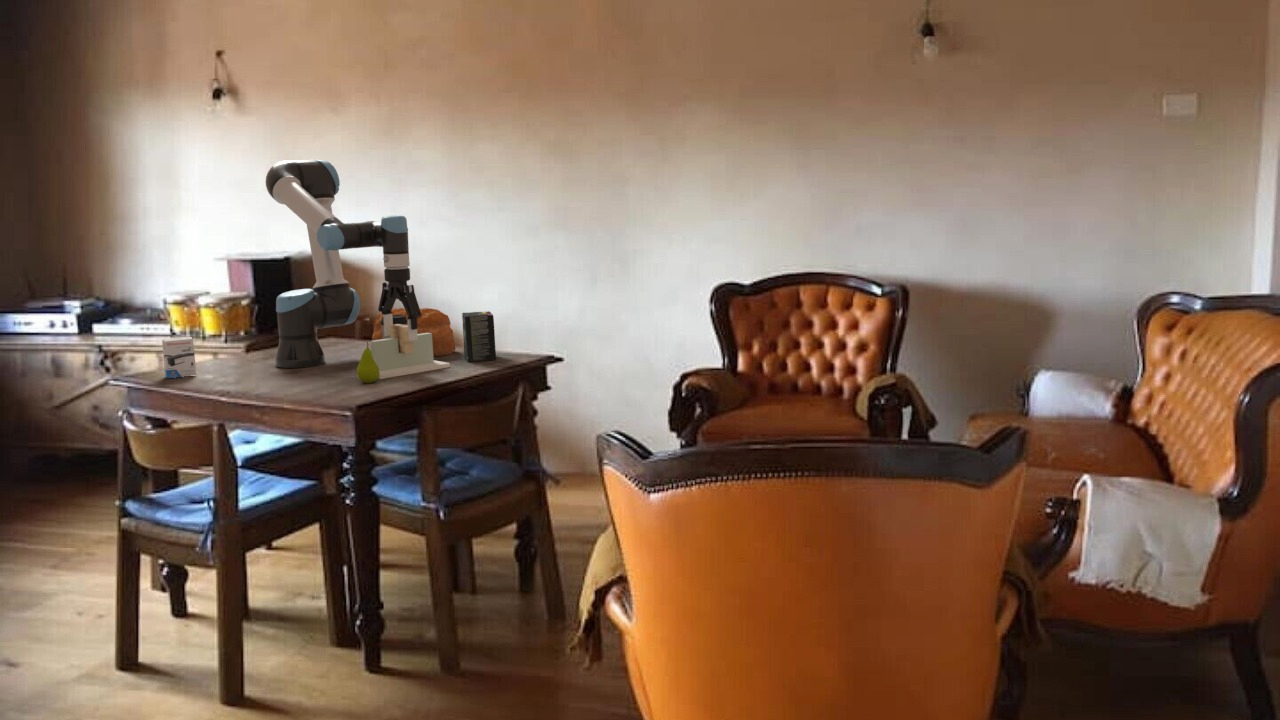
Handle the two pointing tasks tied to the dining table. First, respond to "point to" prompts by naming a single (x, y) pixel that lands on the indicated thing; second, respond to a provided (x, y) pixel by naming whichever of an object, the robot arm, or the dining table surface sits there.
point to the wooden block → (401, 338)
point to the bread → (426, 329)
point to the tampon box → (479, 336)
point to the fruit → (367, 367)
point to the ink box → (179, 357)
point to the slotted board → (404, 357)
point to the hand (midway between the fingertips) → (400, 337)
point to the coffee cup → (395, 322)
